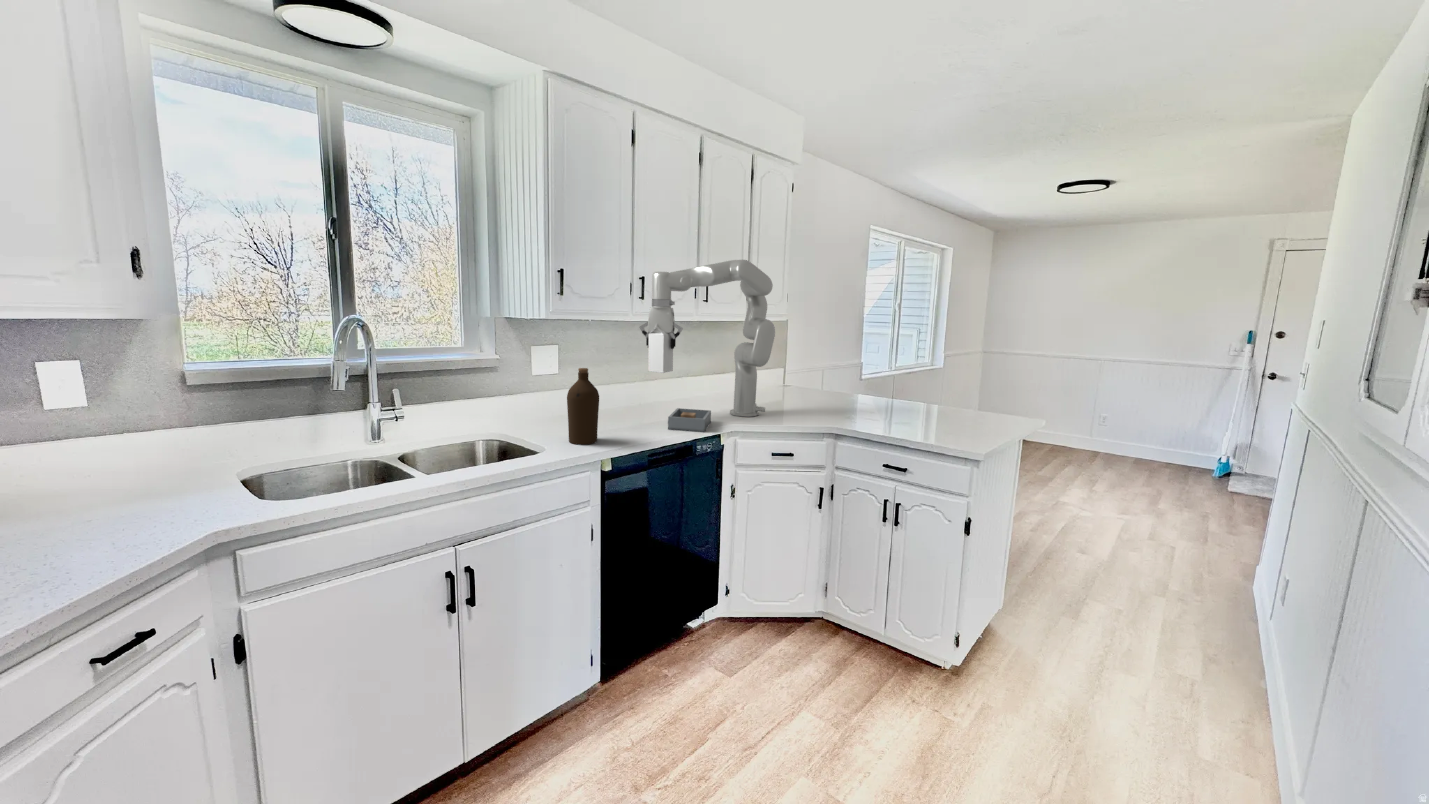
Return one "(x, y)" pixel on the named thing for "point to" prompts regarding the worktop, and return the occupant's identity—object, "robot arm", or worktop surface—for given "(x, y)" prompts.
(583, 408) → the olive oil
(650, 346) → the milk carton
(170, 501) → the worktop surface
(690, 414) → the walnut cube
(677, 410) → the tote
